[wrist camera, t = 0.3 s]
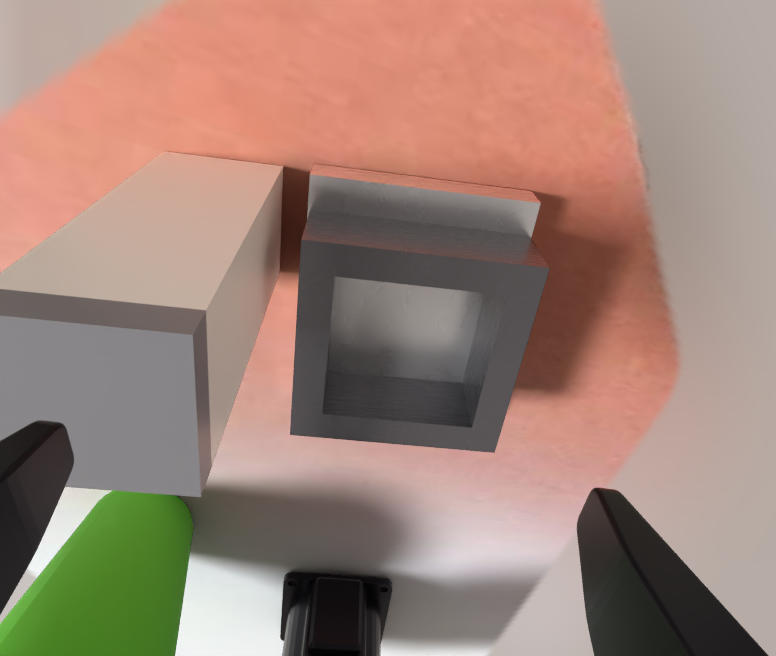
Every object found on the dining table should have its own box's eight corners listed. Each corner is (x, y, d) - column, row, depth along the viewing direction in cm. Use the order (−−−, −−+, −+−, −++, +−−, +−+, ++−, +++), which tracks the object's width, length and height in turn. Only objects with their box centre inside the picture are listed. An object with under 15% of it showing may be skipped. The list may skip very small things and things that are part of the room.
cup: (127, 583, 34) (32, 807, 25) (25, 484, 30) (-136, 709, 21) (258, 544, 33) (211, 767, 23) (171, 433, 29) (69, 652, 19)
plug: (279, 271, 24) (200, 497, 13) (171, 260, 24) (0, 481, 13) (283, 166, 22) (193, 335, 11) (163, 151, 22) (-50, 310, 11)
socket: (474, 408, 28) (489, 475, 24) (299, 392, 27) (286, 458, 23) (531, 191, 23) (563, 232, 19) (313, 163, 22) (299, 200, 18)
